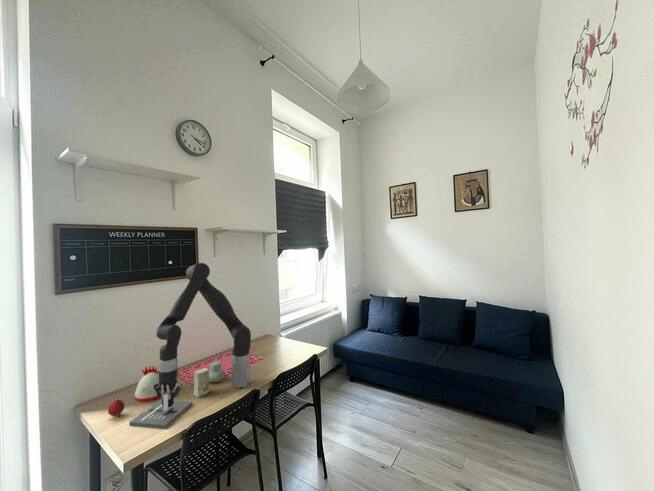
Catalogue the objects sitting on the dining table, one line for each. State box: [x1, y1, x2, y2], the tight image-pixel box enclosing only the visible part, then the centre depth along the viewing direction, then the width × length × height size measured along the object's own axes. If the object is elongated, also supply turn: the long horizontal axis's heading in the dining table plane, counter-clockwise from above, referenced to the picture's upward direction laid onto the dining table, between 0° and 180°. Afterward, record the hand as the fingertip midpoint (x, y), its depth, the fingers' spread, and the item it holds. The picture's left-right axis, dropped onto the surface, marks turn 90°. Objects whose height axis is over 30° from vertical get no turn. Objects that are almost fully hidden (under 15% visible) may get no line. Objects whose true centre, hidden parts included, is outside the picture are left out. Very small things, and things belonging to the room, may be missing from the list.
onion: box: [107, 398, 125, 418], centre depth 121 cm, size 6×6×8 cm
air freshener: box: [209, 361, 226, 383], centre depth 155 cm, size 11×8×10 cm
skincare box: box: [193, 367, 210, 398], centre depth 140 cm, size 6×4×12 cm
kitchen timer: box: [134, 364, 161, 403], centre depth 139 cm, size 14×14×15 cm
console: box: [128, 398, 193, 430], centre depth 122 cm, size 17×18×2 cm
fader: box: [162, 392, 173, 414], centre depth 122 cm, size 2×5×8 cm, turn 173°
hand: (167, 405), depth 122 cm, fingers closed on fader, 2 cm apart
